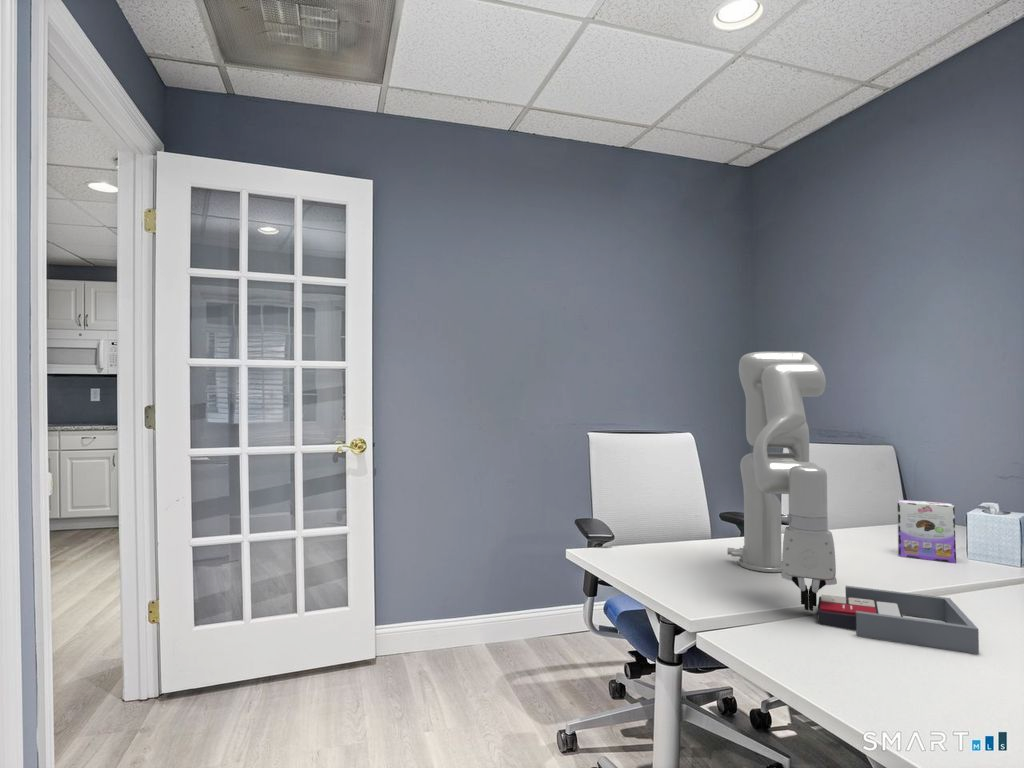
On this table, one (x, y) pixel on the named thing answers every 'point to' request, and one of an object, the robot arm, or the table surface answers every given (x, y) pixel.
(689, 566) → the table surface
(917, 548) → the candy box
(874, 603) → the dark long red-fronted box
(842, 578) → the table surface
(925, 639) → the box
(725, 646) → the table surface
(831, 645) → the table surface
